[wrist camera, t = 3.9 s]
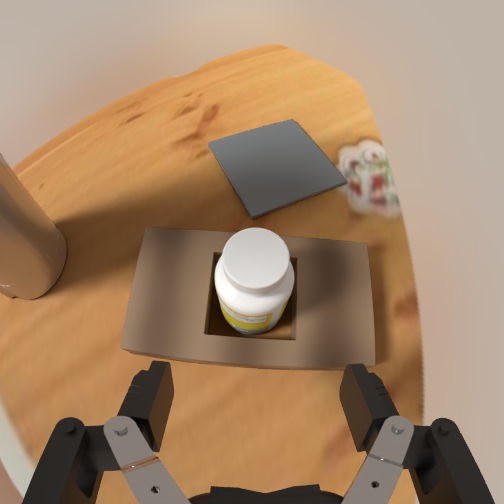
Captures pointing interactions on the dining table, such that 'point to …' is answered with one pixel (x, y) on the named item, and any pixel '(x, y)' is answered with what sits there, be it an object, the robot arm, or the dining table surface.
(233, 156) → the slate pad
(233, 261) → the supplement bottle
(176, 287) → the bottle holder tray
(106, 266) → the dining table surface
